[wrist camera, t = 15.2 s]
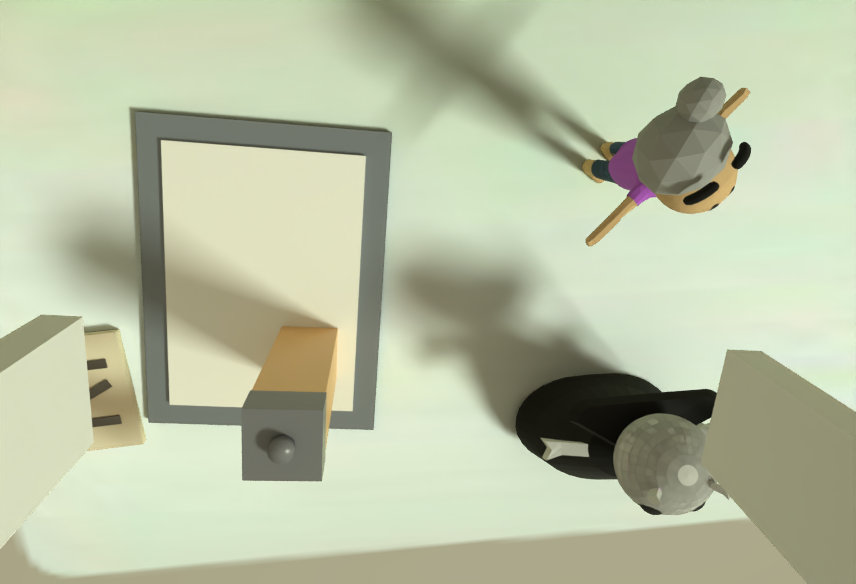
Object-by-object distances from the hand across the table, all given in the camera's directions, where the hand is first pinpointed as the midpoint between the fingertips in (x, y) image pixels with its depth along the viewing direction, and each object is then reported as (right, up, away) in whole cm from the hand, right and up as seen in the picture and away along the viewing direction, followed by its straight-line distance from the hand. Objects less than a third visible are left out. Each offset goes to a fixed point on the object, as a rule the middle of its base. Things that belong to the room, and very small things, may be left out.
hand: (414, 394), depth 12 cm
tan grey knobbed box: (-7, -2, +27) cm, 28 cm away
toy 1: (+10, +11, +26) cm, 30 cm away
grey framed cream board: (-10, +3, +27) cm, 29 cm away
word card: (-22, -4, +28) cm, 35 cm away
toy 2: (+12, -5, +31) cm, 34 cm away
